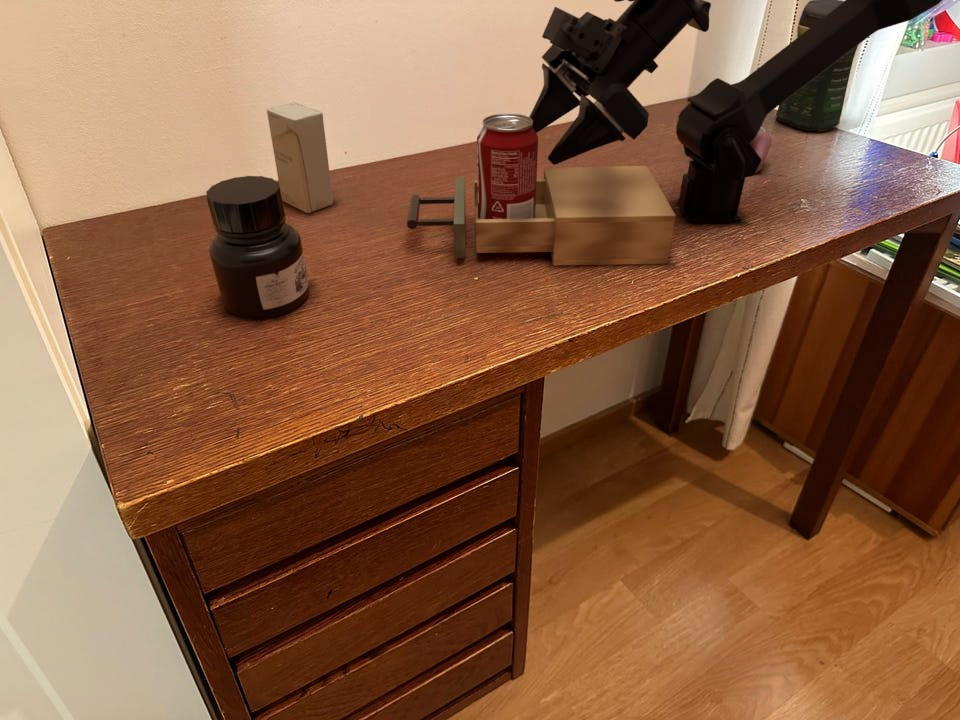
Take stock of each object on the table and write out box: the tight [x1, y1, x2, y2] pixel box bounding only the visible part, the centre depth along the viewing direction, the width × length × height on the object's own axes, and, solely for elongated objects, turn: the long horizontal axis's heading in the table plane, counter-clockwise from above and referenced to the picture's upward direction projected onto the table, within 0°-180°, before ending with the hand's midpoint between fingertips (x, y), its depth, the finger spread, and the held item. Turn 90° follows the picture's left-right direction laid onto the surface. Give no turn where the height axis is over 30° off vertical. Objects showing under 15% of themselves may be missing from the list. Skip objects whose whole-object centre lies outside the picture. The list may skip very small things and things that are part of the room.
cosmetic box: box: [266, 101, 334, 214], centre depth 88 cm, size 6×4×12 cm
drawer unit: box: [543, 165, 677, 267], centre depth 82 cm, size 13×14×6 cm
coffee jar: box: [775, 0, 859, 132], centre depth 110 cm, size 10×8×19 cm
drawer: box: [406, 176, 555, 259], centre depth 82 cm, size 17×13×4 cm
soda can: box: [476, 112, 539, 219], centre depth 79 cm, size 7×7×12 cm
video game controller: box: [749, 126, 773, 174], centre depth 101 cm, size 10×5×7 cm, turn 58°
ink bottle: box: [205, 175, 310, 318], centre depth 69 cm, size 10×9×12 cm
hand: (537, 147), depth 78 cm, fingers open, 9 cm apart
